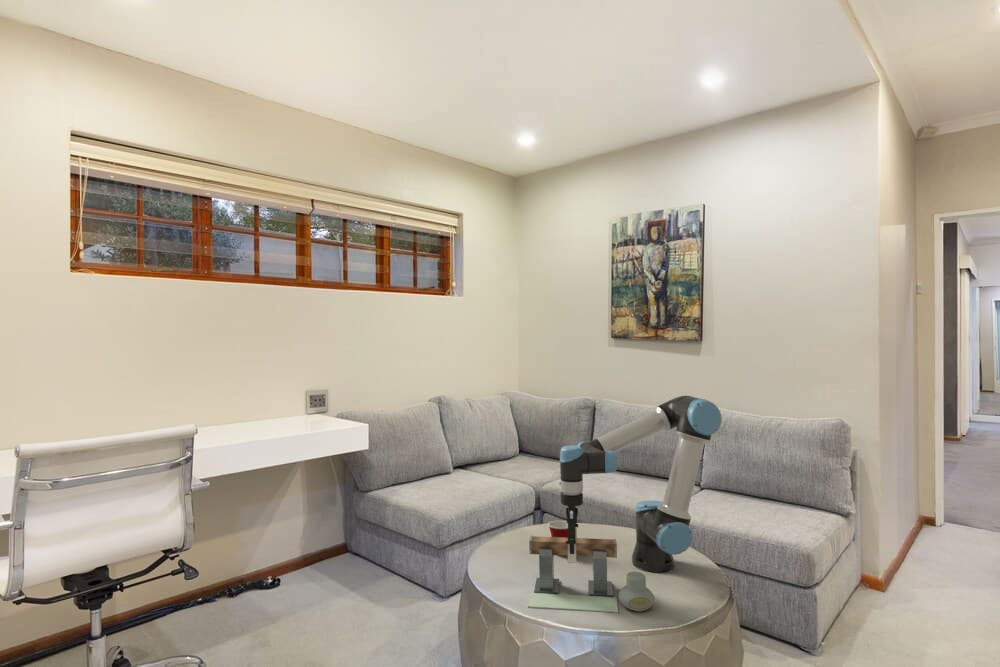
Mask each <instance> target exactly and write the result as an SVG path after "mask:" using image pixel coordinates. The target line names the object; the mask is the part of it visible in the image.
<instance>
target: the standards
mask: <svg viewBox="0 0 1000 667" xmlns="http://www.w3.org/2000/svg"><path fill="white" fill-rule="evenodd" d="M554 556H555V555H552V548H539V554H538V560H539V561H538V565H539V566H538V567H539V568H538V569H539V571H538V572H539V577H536V581H535V585H534V590H533V593H543V594H559V592H560V591H559V589H560V578H555V567H554V566H555V562H554V558H555V557H554ZM607 558H608V557H607V551H602V550H593V557H592V566H593V567H592V568H593V570H592V571H593V578H592V580H589V579H588V580H587V584H588V585H587V587H588V589H587V590H588V595H587V596H600V597H614V591H613V582H612V581H611V580H610V581H609V580H608V559H607Z"/></svg>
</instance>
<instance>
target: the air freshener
mask: <svg viewBox="0 0 1000 667" xmlns="http://www.w3.org/2000/svg"><path fill="white" fill-rule="evenodd" d="M646 583H647V582H646V575H645V574H644V573H642V572H641V571H629V572H628V573H627V574H626V585H624V586H623V587H622V588H621V589H620V590H619V592H618V598H619V601H620V604H622V606H624V607H625V608H627V609H628V610H630V611H634V612H642V611H647V610H649V609H650V608H652V607H653V605H654V603H655V595H654V594H653V591H652V590H650V589H649V587H646V586H647V584H646Z"/></svg>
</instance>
